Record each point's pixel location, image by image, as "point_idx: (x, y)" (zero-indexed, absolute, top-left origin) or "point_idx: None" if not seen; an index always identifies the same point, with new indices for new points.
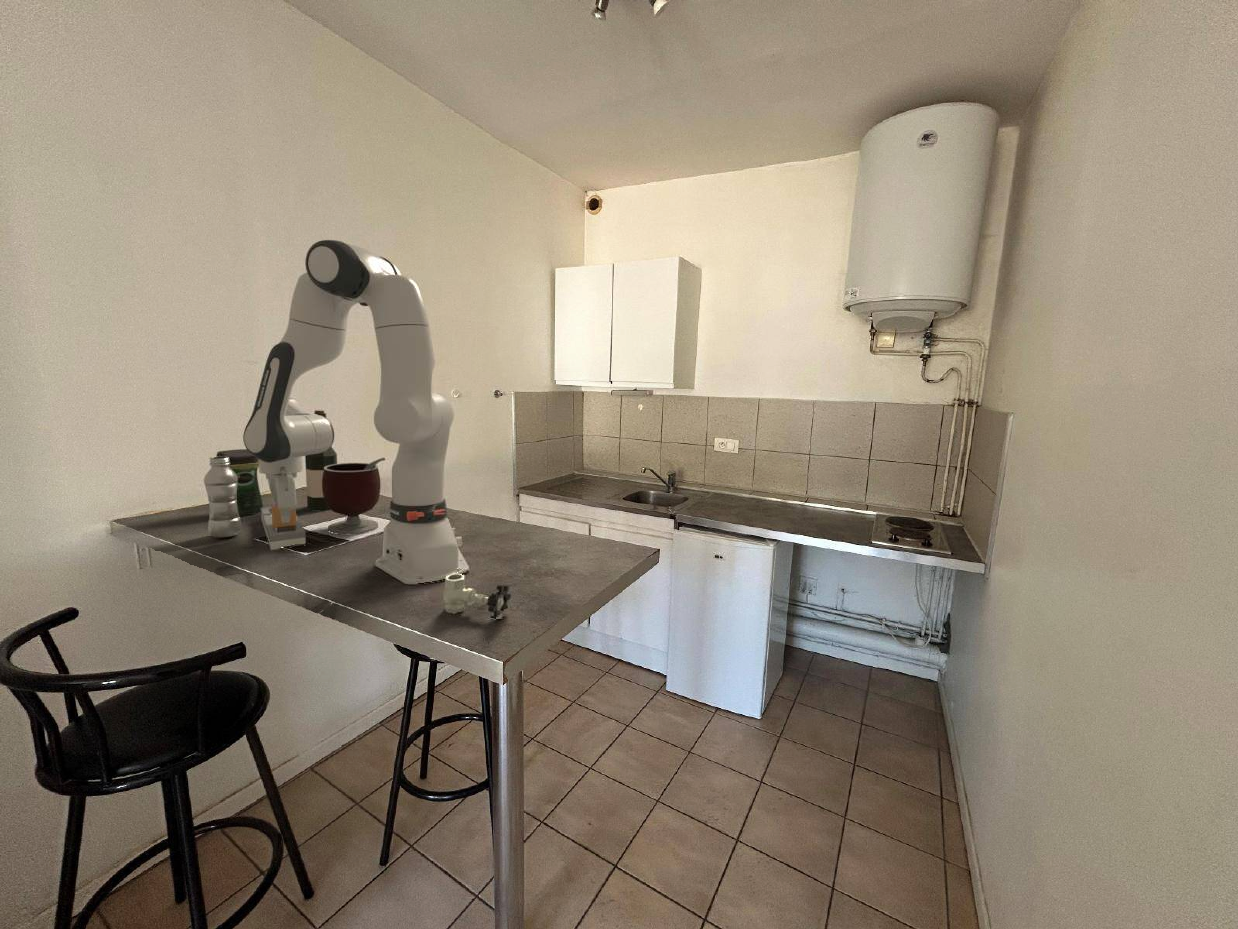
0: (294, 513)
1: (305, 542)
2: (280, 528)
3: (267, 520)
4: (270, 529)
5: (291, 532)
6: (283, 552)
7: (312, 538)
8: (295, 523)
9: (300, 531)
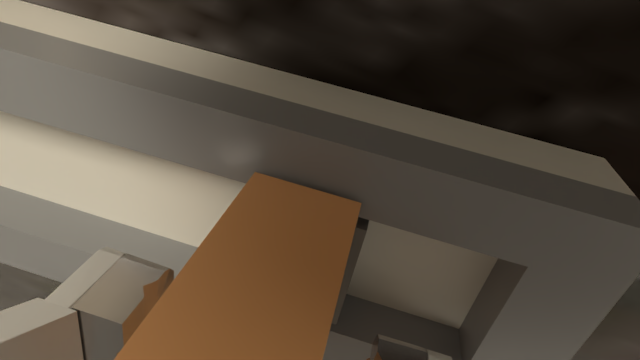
0: (329, 321)
1: (612, 171)
2: (340, 305)
3: (53, 267)
4: (329, 358)
5: (565, 320)
6: (614, 313)
7: (446, 30)
8: (354, 222)
9: (613, 261)
